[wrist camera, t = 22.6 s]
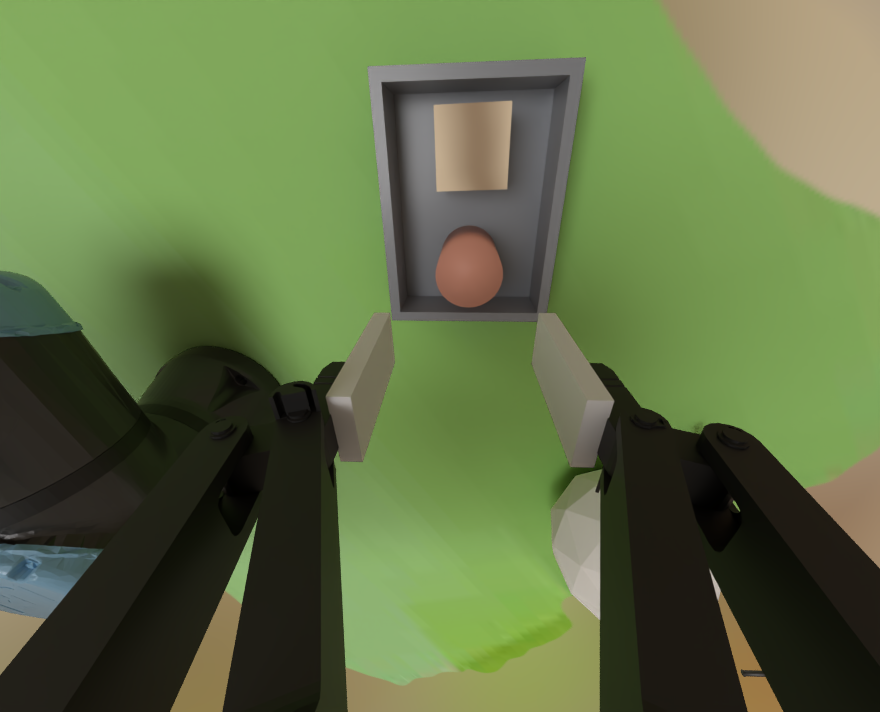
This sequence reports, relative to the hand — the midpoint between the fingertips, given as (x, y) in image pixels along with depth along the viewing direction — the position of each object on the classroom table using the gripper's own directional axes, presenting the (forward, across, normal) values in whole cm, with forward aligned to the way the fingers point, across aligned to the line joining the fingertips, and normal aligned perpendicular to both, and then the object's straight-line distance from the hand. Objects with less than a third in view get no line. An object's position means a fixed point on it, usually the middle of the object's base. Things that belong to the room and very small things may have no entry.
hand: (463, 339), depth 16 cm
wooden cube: (+17, +1, +8) cm, 19 cm away
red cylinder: (+17, +1, 0) cm, 17 cm away
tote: (+18, +1, +4) cm, 18 cm away
